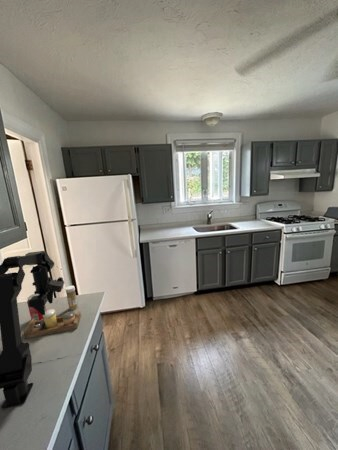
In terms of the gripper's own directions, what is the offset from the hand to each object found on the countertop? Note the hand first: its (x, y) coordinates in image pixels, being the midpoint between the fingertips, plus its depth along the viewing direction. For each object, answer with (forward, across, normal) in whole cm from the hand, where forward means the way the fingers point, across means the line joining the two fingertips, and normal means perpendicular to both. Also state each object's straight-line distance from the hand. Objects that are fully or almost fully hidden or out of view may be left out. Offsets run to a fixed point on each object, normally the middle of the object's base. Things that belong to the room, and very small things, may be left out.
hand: (47, 308), depth 93 cm
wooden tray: (+11, 0, -2) cm, 11 cm away
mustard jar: (+10, 0, 0) cm, 10 cm away
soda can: (+11, +11, +9) cm, 18 cm away
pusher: (+9, 0, +5) cm, 11 cm away
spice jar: (+10, 0, -8) cm, 13 cm away
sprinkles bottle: (+11, +14, -7) cm, 19 cm away
